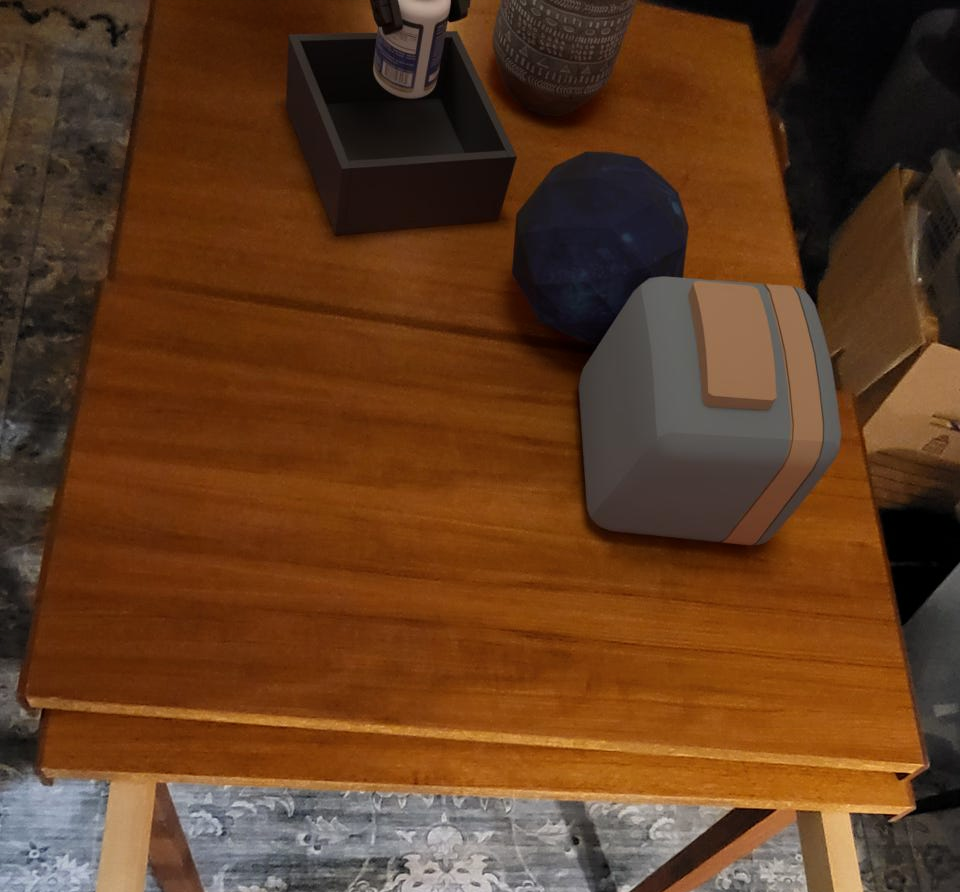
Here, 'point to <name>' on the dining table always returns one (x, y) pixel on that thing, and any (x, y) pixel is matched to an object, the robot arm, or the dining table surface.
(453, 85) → the bin
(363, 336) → the dining table surface
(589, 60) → the planter
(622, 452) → the grey rounded cube box
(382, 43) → the pill bottle
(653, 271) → the decorative orb
